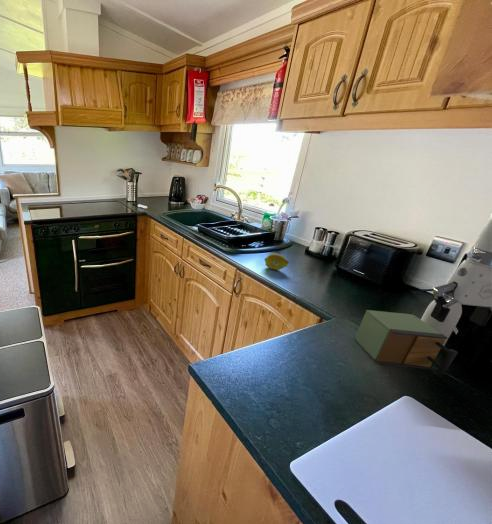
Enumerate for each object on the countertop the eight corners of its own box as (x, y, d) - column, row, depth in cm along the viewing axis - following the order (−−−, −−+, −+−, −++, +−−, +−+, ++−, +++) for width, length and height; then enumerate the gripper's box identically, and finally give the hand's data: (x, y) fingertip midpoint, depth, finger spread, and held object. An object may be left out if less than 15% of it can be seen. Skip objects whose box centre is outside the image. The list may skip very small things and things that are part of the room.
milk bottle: (442, 351, 91) (475, 295, 83) (411, 338, 96) (439, 285, 88) (444, 341, 96) (475, 288, 88) (414, 330, 101) (441, 279, 93)
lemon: (260, 268, 145) (264, 253, 142) (265, 264, 151) (269, 249, 148) (282, 275, 139) (287, 259, 136) (287, 270, 144) (291, 255, 141)
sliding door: (446, 380, 77) (464, 352, 73) (418, 377, 77) (435, 349, 74) (428, 365, 82) (444, 338, 79) (402, 363, 83) (417, 335, 79)
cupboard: (429, 369, 82) (447, 337, 78) (378, 364, 83) (394, 332, 79) (398, 343, 93) (413, 314, 89) (354, 338, 94) (366, 309, 89)
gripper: (468, 261, 64) (433, 326, 70) (552, 268, 63) (508, 333, 69) (439, 249, 70) (409, 309, 77) (513, 256, 70) (477, 316, 76)
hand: (456, 321), depth 73 cm, fingers open, 9 cm apart
